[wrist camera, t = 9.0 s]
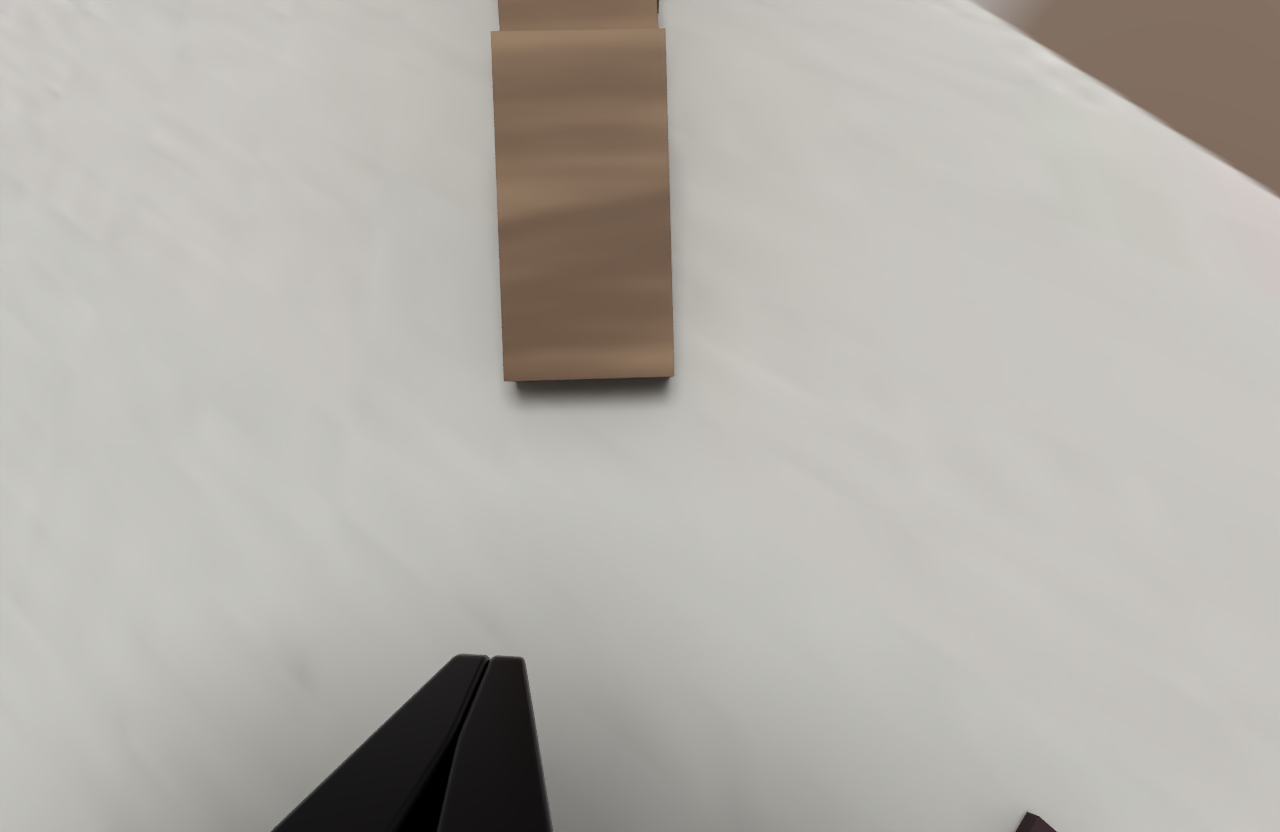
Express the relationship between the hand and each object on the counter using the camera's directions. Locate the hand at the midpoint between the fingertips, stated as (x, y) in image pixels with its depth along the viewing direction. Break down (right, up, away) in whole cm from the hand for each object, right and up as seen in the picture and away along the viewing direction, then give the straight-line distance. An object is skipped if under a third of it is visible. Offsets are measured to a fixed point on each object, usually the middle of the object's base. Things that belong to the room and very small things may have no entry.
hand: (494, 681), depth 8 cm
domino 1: (0, +4, +12) cm, 13 cm away
